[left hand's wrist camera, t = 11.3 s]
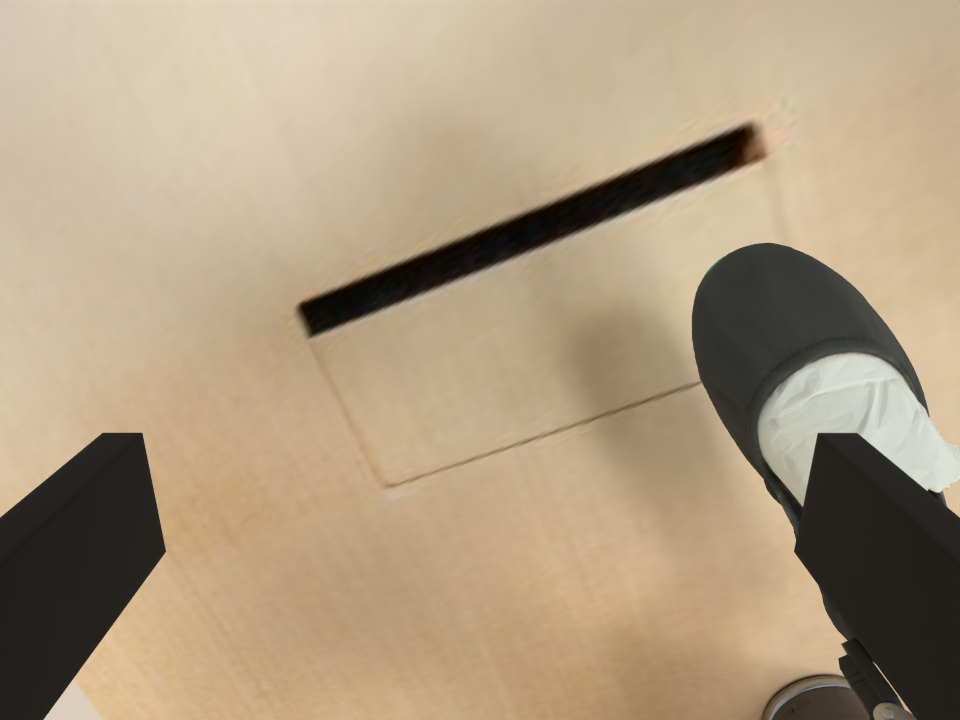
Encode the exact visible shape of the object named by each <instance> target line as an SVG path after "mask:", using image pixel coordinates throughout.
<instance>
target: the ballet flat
mask: <svg viewBox="0 0 960 720" xmlns="http://www.w3.org/2000/svg"><path fill="white" fill-rule="evenodd" d="M692 340H693V347H694V352H695V359H696V363H697V366H698V372H699V375H700V379H701V381H702V383H703V385H704V387H705V389H706V390H707V393H708V395H709V397H710V399H711V401H712V403H713V405H714V407H715V409H716V411H717V413H718V415H719V417H720V418H721V420H722V422H723V424H724V426H725V427H726V428H727V430H728V432H729V434H730V435H731V437H732V438H733V439H734V441H735V442H736V444H737V446H738V447H739V449H740V450H741V452H742V453H743V455H744V456H745V458H746V459H747V460H748V461H749V463H750V464H751V465H752V466H753V468H754V469H755V470H756V471H757V472H758V473H759V475H761V477H762V478H763V479H764V482H765V485H766V488H767V490H768V492H769V493H770V494H771V496H772V497H773V498H774V499H775V500H776V501H777V502H778V503H779V504H781V505H782V507H783V509H784V511H785V513H786V515H787V516H788V518H789V520H790V522H791V524H792V526H793V528H794V533H795V537H796V539H797V534H798V529H799V524H800V519H801V514H802V509H803V504H804V499H805V494H806V489H807V484H808V479H809V474H810V469H811V464H812V459H813V454H814V449H815V444H816V439H817V434H818V433H858V434H859V435H860V436H862V437H863V438H864V439H865V440H866V441H868V442H869V443H870V444H871V445H872V446H874V447H875V448H876V449H877V450H878V451H880V452H881V453H882V454H883V455H884V456H886V457H887V458H888V459H889V460H891V461H892V462H893V463H894V464H895V465H897V466H898V467H899V468H900V469H901V470H903V471H904V472H905V473H906V474H907V475H909V476H910V477H911V478H912V479H914V480H915V481H916V482H917V483H918V484H920V485H921V486H922V487H923V488H924V489H926V490H927V491H928V492H929V493H930V494H932V495H933V496H934V497H935V498H936V499H938V500H939V501H940V502H941V503H943V504H944V505H945V506H946V507H947V505H946V501H945V498H944V494H943V489H944V488H946V489H949V488H950V485H949V484H951V483H954V482H957V481H958V480H959V479H960V449H958V448H957V447H955V446H954V445H952V444H951V443H950V442H949V441H947V440H946V439H945V438H943V437H942V436H941V435H940V434H939V433H938V431H937V429H936V427H935V426H934V425H933V423H932V421H931V420H930V417H929V412H928V408H927V404H926V400H925V397H924V393H923V390H922V387H921V384H920V382H919V379H918V377H917V375H916V372H915V370H914V368H913V366H912V364H911V362H910V360H909V359H908V357H907V355H906V353H905V352H904V350H903V348H902V347H901V345H900V343H899V342H898V340H897V339H896V337H895V336H894V334H893V333H892V332H891V330H890V329H889V327H888V326H887V325H886V323H885V322H884V321H883V320H882V318H881V317H880V316H879V315H878V314H877V312H876V311H875V310H874V309H873V308H872V307H871V305H870V304H869V303H868V302H867V300H866V299H865V298H864V296H863V295H862V294H861V293H860V292H859V291H858V290H857V289H856V288H855V287H854V286H853V285H852V284H850V283H849V282H848V281H847V280H846V279H844V278H843V277H842V276H841V275H839V274H838V273H837V272H835V271H834V270H832V269H831V268H829V267H828V266H826V265H825V264H823V263H821V262H820V261H818V260H816V259H815V258H813V257H811V256H809V255H807V254H805V253H803V252H800V251H798V250H795V249H793V248H791V247H788V246H783V245H779V244H774V243H761V244H753V245H749V246H746V247H743V248H740V249H737V250H735V251H733V252H731V253H729V254H728V255H726V256H725V257H723V258H721V259H720V260H718V261H717V262H716V263H715V264H714V265H713V266H712V267H711V268H710V269H709V270H708V271H707V272H706V274H705V276H704V278H703V279H702V281H701V283H700V285H699V287H698V289H697V292H696V296H695V300H694V306H693V312H692ZM819 588H820V586H819ZM820 591H821V594H822V598H823V603H824V606H825V609H826V612H827V614H828V616H829V617H830V619H831V621H832V623H833V624H834V626H835V627H836V628H837V630H838V631H839V632H840V633H841V634H842V635H843V636H844V637H845V638H846V639H847V640H848V641H849V640H851V639H853V638H855V639H856V640H857V641H858V643H859V644H860V645H861V647H862V648H863V650H864V651H865V652H866V654H867V655H868V656H869V658H870V659H871V660H872V661H873V659H872V658H871V656H870V655H869V654H868V652H867V651H866V650H865V648H864V647H863V645H862V644H861V643H860V641H859V640H858V639H857V637H856V636H855V634H854V633H853V632H852V630H851V629H850V628H849V626H848V625H847V624H846V622H845V621H844V619H843V618H842V617H841V615H840V614H839V613H838V611H837V610H836V608H835V607H834V606H833V604H832V603H831V602H830V600H829V599H828V597H827V596H826V595H825V593H824V592H823V591H822V589H821V588H820ZM873 662H874V661H873ZM874 663H875V662H874ZM875 664H876V663H875Z"/></svg>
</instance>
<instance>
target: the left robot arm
mask: <svg viewBox="0 0 960 720" xmlns="http://www.w3.org/2000/svg"><path fill="white" fill-rule="evenodd" d="M165 552H166V549H165V544H164V539H163V534H162V529H161V524H160V519H159V514H158V509H157V504H156V499H155V494H154V489H153V484H152V479H151V474H150V469H149V464H148V459H147V454H146V449H145V444H144V439H143V434H142V433H102V434H101V435H100V436H98V437H97V438H96V439H95V440H94V441H92V442H91V443H90V444H89V445H88V446H86V447H85V448H84V449H83V450H82V451H80V452H79V453H78V454H77V455H76V456H74V457H73V458H72V459H71V460H69V461H68V462H67V463H66V464H65V465H63V466H62V467H61V468H60V469H59V470H57V471H56V472H55V473H54V474H53V475H51V476H50V477H49V478H48V479H46V480H45V481H44V482H43V483H42V484H40V485H39V486H38V487H37V488H36V489H34V490H33V491H32V492H31V493H30V494H28V495H27V496H26V497H25V498H24V499H22V500H21V501H20V502H19V503H17V504H16V505H15V506H14V507H13V508H11V509H10V510H9V511H8V512H7V513H5V514H4V515H3V516H2V517H1V518H0V720H43V719H44V718H45V717H46V715H47V714H48V713H49V711H50V710H51V708H52V707H53V706H54V704H55V703H56V702H57V700H58V699H59V698H60V696H61V695H62V693H63V692H64V691H65V689H66V688H67V687H68V685H69V684H70V682H71V681H72V680H73V678H74V677H75V676H76V674H77V673H78V671H79V670H80V669H81V667H82V666H83V665H84V663H85V662H86V661H87V659H88V658H89V656H90V655H91V654H92V652H93V651H94V650H95V648H96V647H97V645H98V644H99V643H100V641H101V640H102V639H103V637H104V636H105V634H106V633H107V632H108V630H109V629H110V628H111V626H112V625H113V623H114V622H115V621H116V619H117V618H118V617H119V615H120V614H121V613H122V611H123V610H124V608H125V607H126V606H127V604H128V603H129V602H130V600H131V599H132V597H133V596H134V595H135V593H136V592H137V591H138V589H139V588H140V586H141V585H142V584H143V582H144V581H145V580H146V578H147V577H148V576H149V574H150V573H151V571H152V570H153V569H154V567H155V566H156V565H157V563H158V562H159V560H160V559H161V558H162V556H163V555H164V554H165ZM794 552H795V554H796V555H797V556H798V558H799V559H800V560H801V562H802V563H803V565H804V566H805V567H806V569H807V570H808V571H809V573H810V574H811V576H812V577H813V578H814V580H815V581H816V582H817V584H818V585H819V586H820V588H821V589H822V591H823V592H824V593H825V595H826V596H827V597H828V599H829V600H830V602H831V603H832V604H833V606H834V607H835V608H836V610H837V611H838V613H839V614H840V615H841V617H842V618H843V619H844V621H845V622H846V624H847V625H848V626H849V628H850V629H851V630H852V632H853V633H854V634H855V636H856V637H857V639H858V640H859V641H860V643H861V644H862V645H863V647H864V648H865V650H866V651H867V652H868V654H869V655H870V656H871V658H872V659H873V661H874V662H875V663H876V665H877V666H878V667H879V669H880V670H881V671H882V673H883V674H884V676H885V677H886V678H887V680H888V681H889V682H890V684H891V685H892V687H893V688H894V689H895V691H896V692H897V693H898V695H899V696H900V698H901V699H902V700H903V702H904V703H905V704H906V706H907V707H908V709H909V710H910V711H911V713H912V714H913V715H914V717H915V718H916V719H917V720H960V518H959V517H958V516H957V515H956V514H955V513H953V512H952V511H951V510H950V509H949V508H947V507H946V506H945V505H944V504H943V503H941V502H940V501H939V500H938V499H936V498H935V497H934V496H933V495H932V494H930V493H929V492H928V491H927V490H926V489H924V488H923V487H922V486H921V485H920V484H918V483H917V482H916V481H915V480H914V479H912V478H911V477H910V476H909V475H907V474H906V473H905V472H904V471H903V470H901V469H900V468H899V467H898V466H897V465H895V464H894V463H893V462H892V461H891V460H889V459H888V458H887V457H886V456H884V455H883V454H882V453H881V452H880V451H878V450H877V449H876V448H875V447H874V446H872V445H871V444H870V443H869V442H868V441H866V440H865V439H864V438H863V437H862V436H860V435H859V434H858V433H818V434H817V439H816V444H815V449H814V454H813V459H812V464H811V469H810V474H809V479H808V484H807V489H806V494H805V499H804V504H803V509H802V514H801V519H800V524H799V529H798V534H797V539H796V544H795V549H794Z"/></svg>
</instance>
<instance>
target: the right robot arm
mask: <svg viewBox="0 0 960 720" xmlns="http://www.w3.org/2000/svg"><path fill="white" fill-rule="evenodd" d="M842 646H843V648H844V650H845V652H846V654H847V655H845V656H843V657H841V658H839V665H840V669H841V671H842V673H843V675H844V676H845V678H846V679H845V678H842V677H836V676H818V677H812V678H808V679H804V680H801V681H798V682H796V683H794V684H792V685H790V686H788V687H787V688H785V689H784V690H782V691H781V692H780V693H779V694H777V695H776V696H775V697H774V698H773V700H772V701H771V702H770V704H769V705H768V707H767V709H766V711H765V714H764V717H763V720H917V719H916V718H915V717H914V715H912V714H911V713H909V712H908V711H906V710H905V709H904V707H903V706H902V704H901V702H900V700H899V698H898V696H897V695H896V693H895V692H894V691H893V689H892V688H891V686H890V685H889V684H888V682H887V681H886V680H885V678H884V677H883V675H882V674H881V673H880V671H879V670H878V669H877V667H876V666H875V665H874V663H873V662H872V660H871V659H870V658H869V656H868V655H867V654H866V652H865V651H864V650H863V648H862V647H861V645H860V644H859V643H858V641H857V640H856V639H855V638H853V639H851V640H849V641H846V642H844V643H842Z"/></svg>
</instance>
